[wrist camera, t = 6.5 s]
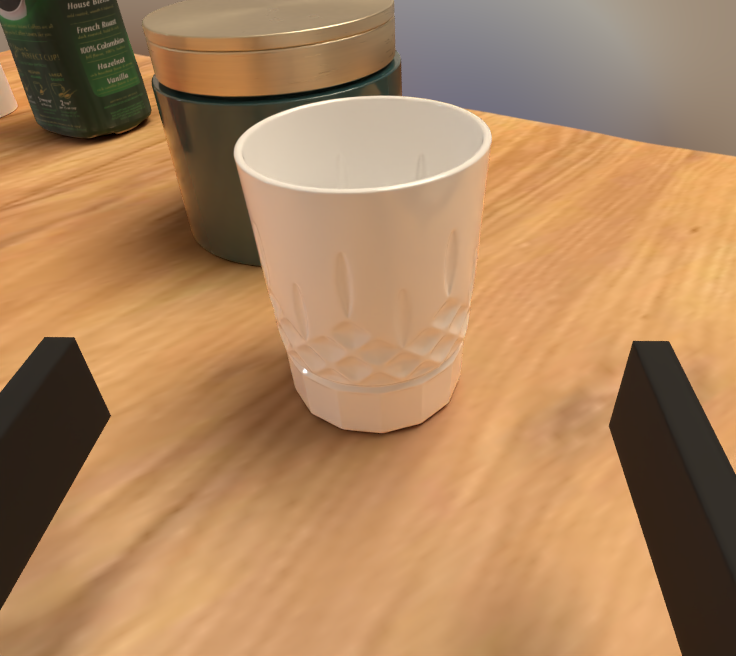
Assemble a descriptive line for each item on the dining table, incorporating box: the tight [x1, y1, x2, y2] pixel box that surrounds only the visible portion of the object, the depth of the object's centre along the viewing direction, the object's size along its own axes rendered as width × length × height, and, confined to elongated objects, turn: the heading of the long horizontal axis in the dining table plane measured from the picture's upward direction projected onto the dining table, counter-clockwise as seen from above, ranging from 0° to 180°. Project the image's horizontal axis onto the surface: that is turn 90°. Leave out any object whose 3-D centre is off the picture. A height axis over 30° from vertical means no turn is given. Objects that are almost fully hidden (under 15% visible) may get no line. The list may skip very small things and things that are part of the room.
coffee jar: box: [0, 0, 151, 138], centre depth 46 cm, size 10×8×19 cm
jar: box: [152, 50, 402, 266], centre depth 33 cm, size 13×13×10 cm
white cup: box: [234, 96, 492, 433], centre depth 21 cm, size 8×8×10 cm
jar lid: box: [142, 0, 395, 97], centre depth 30 cm, size 12×12×2 cm
